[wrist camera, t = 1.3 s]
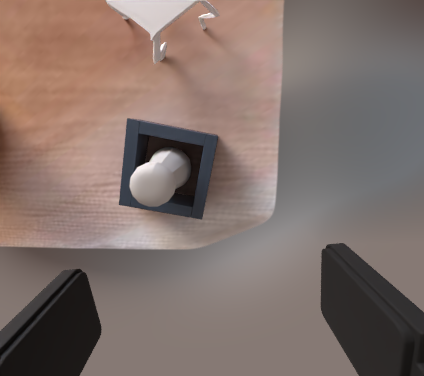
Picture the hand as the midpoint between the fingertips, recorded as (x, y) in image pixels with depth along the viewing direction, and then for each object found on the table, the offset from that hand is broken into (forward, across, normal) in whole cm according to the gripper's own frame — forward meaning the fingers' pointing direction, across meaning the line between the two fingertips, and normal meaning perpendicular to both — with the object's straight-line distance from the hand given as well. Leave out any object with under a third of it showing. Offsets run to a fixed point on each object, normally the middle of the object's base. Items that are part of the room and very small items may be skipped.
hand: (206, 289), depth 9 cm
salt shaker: (+26, +5, -1) cm, 26 cm away
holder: (+26, +5, -1) cm, 26 cm away
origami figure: (+26, +3, -19) cm, 32 cm away
